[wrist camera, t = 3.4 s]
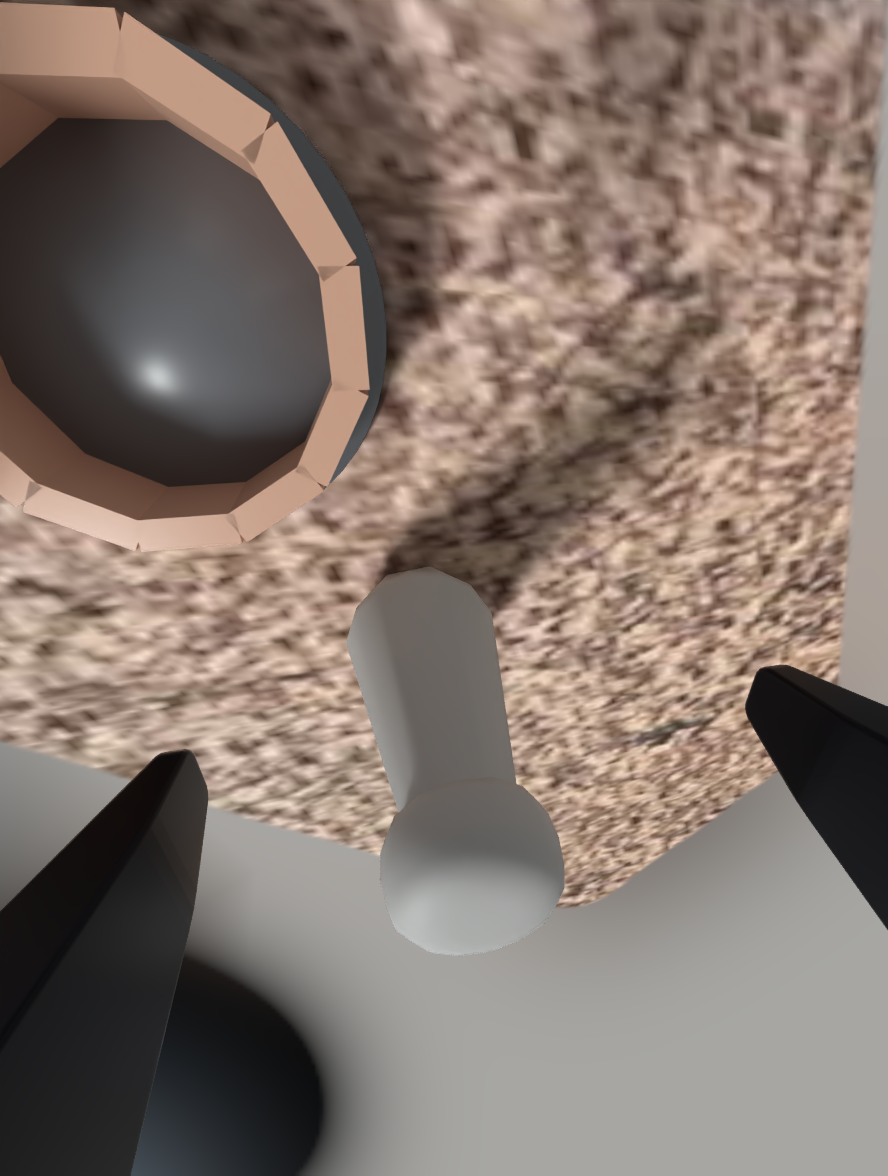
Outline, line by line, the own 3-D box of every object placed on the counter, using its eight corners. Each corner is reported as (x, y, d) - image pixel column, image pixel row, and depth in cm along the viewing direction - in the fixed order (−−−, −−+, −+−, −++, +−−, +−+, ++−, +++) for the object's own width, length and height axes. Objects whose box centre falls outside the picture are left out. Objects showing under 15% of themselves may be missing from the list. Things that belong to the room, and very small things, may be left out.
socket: (397, 511, 20) (406, 551, 17) (32, 538, 18) (-33, 589, 15) (366, 42, 13) (371, -33, 10) (-209, 18, 12) (-410, -82, 9)
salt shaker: (381, 678, 24) (409, 1016, 13) (322, 581, 21) (293, 912, 10) (497, 630, 24) (631, 934, 12) (455, 526, 21) (580, 801, 9)
